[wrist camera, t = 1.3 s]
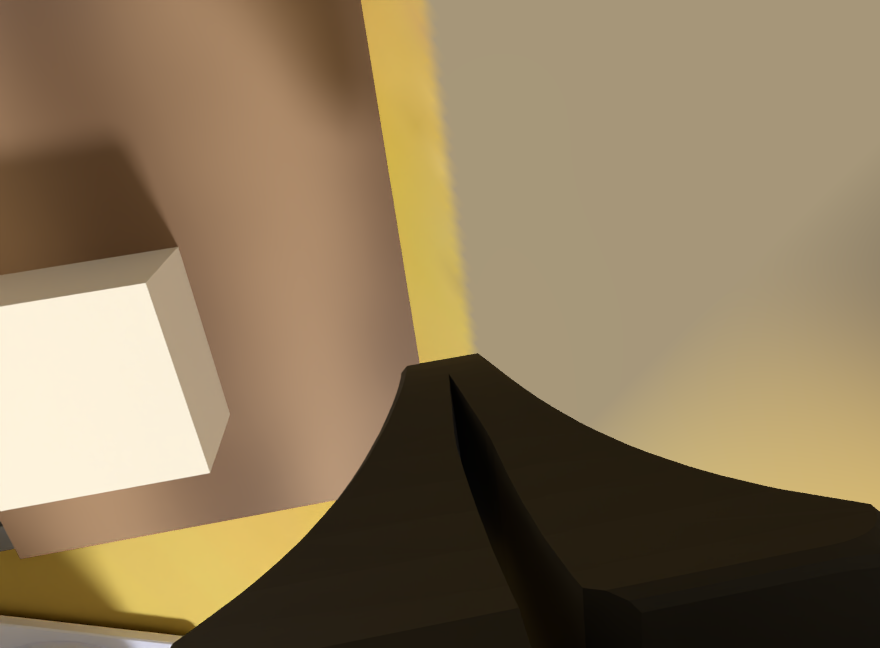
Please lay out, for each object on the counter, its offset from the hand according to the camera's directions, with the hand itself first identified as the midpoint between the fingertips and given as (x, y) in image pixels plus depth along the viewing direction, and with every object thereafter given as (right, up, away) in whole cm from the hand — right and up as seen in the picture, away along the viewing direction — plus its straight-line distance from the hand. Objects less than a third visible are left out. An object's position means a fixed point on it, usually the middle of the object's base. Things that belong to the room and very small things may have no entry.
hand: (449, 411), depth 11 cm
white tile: (-8, +1, +4) cm, 9 cm away
